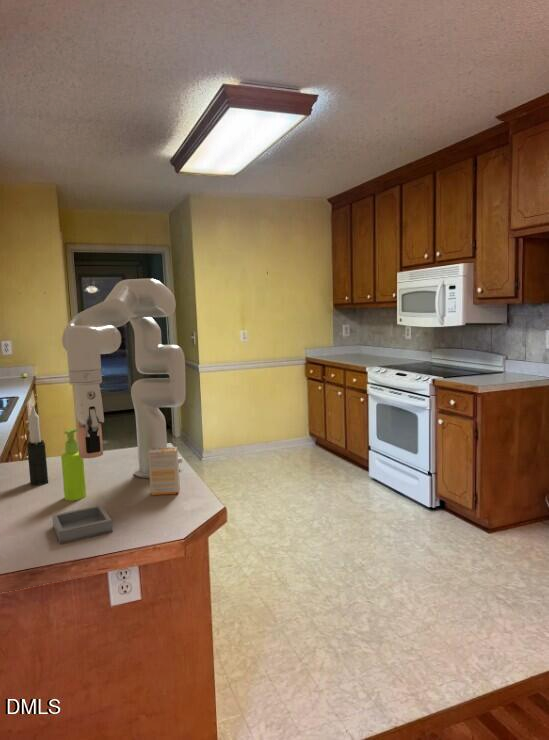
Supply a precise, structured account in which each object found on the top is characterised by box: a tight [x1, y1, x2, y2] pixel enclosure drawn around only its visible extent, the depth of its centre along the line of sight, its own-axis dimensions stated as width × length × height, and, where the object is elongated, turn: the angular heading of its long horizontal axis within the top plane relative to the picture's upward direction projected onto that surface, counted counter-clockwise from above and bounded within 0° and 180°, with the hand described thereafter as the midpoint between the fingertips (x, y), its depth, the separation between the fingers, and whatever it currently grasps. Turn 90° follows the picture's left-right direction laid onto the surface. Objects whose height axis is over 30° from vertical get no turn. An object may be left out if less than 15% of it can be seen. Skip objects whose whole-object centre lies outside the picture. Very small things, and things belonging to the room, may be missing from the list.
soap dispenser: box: [60, 428, 87, 502], centre depth 152 cm, size 6×7×20 cm
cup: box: [76, 422, 104, 459], centre depth 128 cm, size 6×6×8 cm
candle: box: [26, 405, 49, 486], centre depth 166 cm, size 5×5×25 cm
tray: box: [51, 504, 113, 545], centre depth 129 cm, size 12×12×3 cm
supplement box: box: [148, 446, 181, 496], centre depth 153 cm, size 8×5×13 cm, turn 94°
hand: (90, 449), depth 128 cm, fingers closed on cup, 5 cm apart
